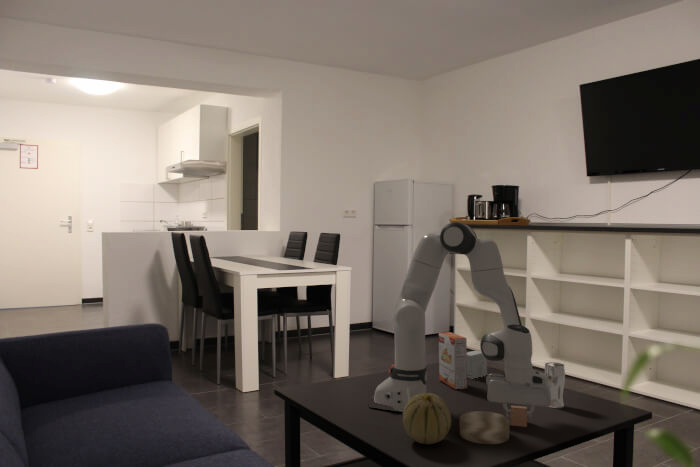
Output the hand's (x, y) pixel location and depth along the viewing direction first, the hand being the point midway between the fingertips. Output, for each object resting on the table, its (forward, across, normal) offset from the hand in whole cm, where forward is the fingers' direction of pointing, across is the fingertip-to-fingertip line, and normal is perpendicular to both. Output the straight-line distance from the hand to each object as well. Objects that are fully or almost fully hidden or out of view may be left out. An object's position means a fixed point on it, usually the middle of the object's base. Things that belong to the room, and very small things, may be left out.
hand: (518, 417), depth 183 cm
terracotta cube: (+2, 0, 0) cm, 2 cm away
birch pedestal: (+2, -10, -14) cm, 17 cm away
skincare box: (+2, -20, +57) cm, 60 cm away
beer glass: (+2, +12, +23) cm, 26 cm away
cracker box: (+2, -27, +40) cm, 48 cm away
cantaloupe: (+2, -26, -25) cm, 36 cm away
